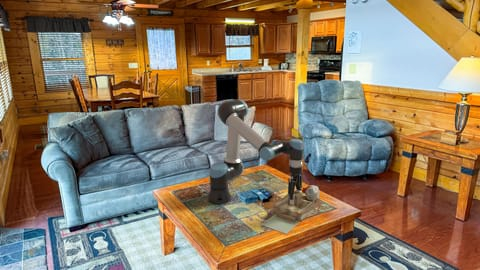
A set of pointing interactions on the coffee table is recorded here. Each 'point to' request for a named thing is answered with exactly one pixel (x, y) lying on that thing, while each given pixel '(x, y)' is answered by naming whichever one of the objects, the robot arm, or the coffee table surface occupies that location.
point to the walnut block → (296, 198)
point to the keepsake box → (294, 208)
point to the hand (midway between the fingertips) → (294, 202)
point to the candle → (311, 192)
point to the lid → (281, 222)
